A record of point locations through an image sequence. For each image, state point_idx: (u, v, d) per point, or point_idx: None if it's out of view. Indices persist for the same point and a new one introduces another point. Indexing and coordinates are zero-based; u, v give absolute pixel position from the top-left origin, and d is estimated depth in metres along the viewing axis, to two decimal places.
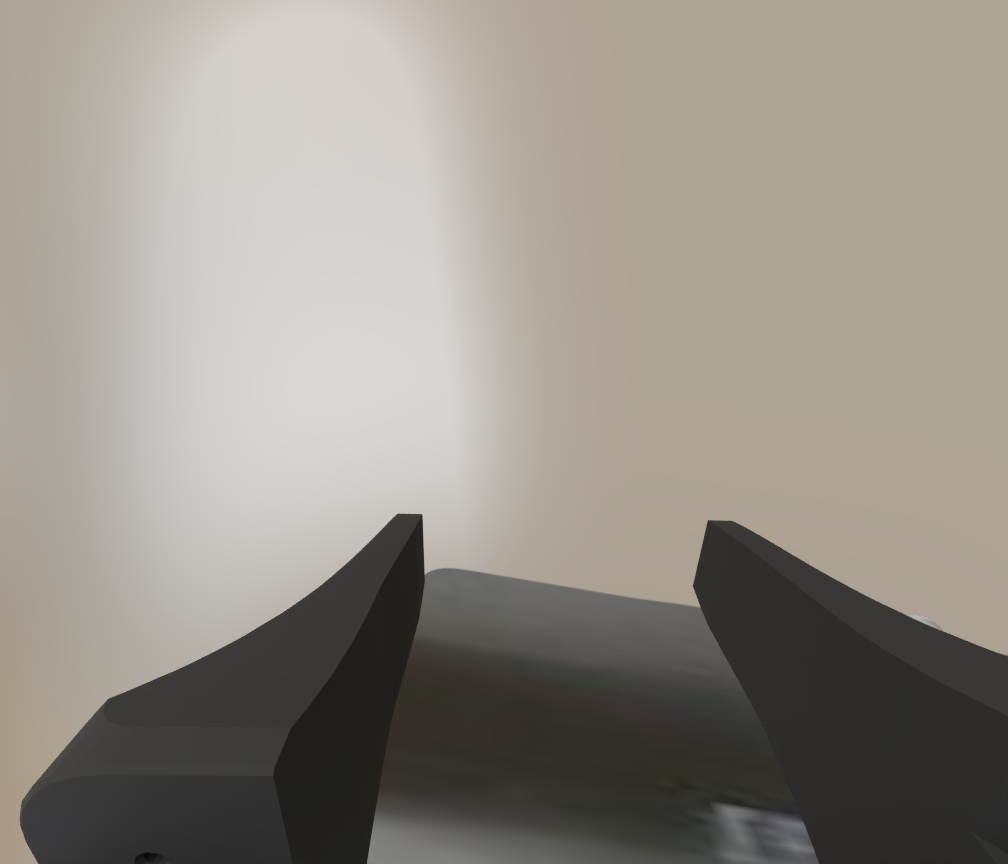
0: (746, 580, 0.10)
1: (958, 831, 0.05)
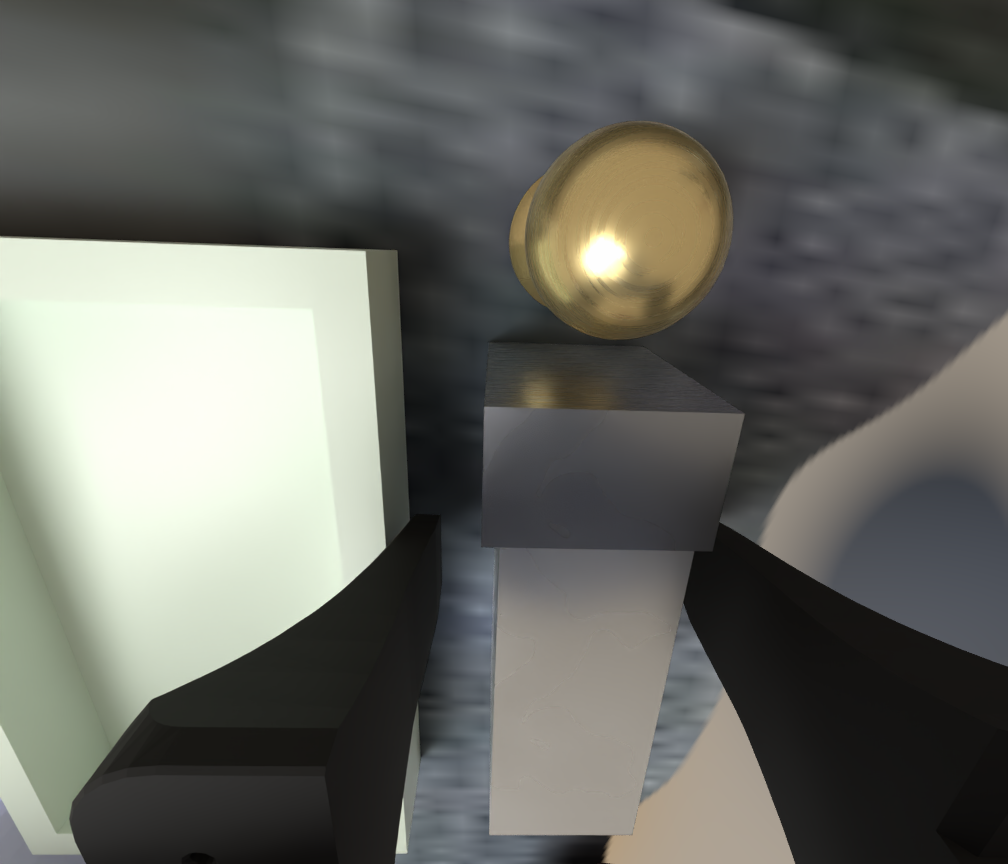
0: (728, 580, 0.10)
1: (925, 831, 0.05)
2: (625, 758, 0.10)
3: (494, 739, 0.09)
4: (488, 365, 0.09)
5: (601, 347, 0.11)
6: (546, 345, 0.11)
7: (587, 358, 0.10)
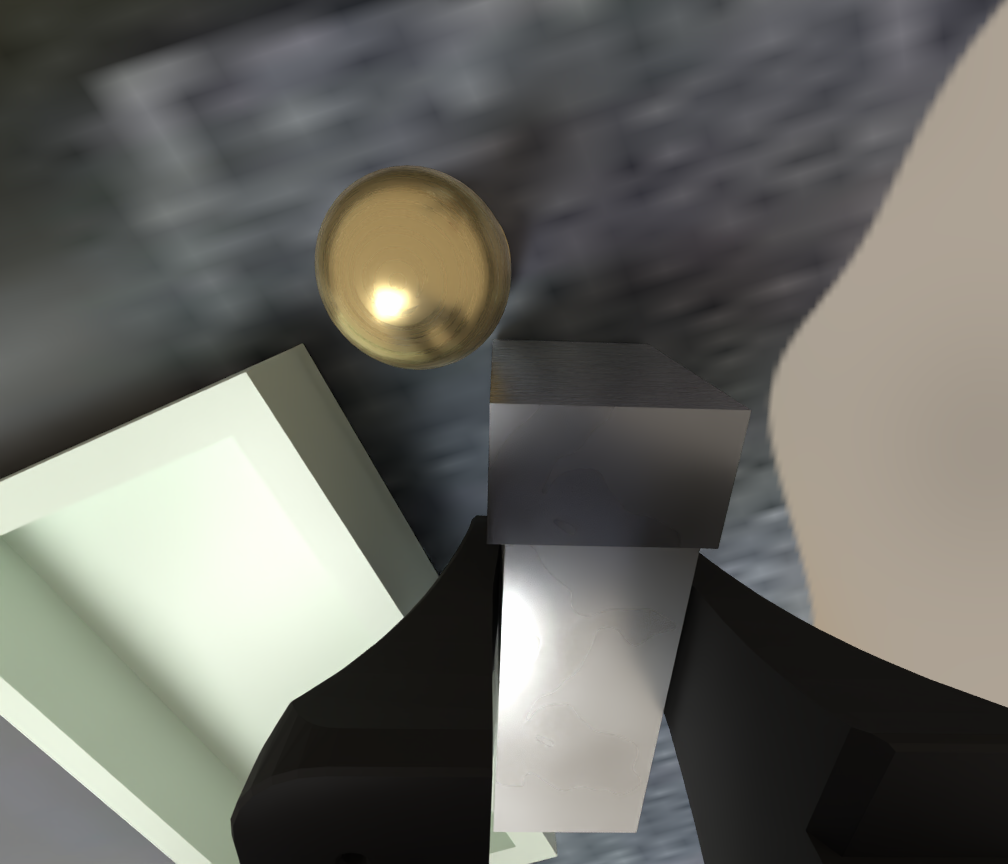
0: None
1: (798, 831, 0.05)
2: (630, 755, 0.10)
3: (499, 736, 0.09)
4: (493, 362, 0.09)
5: (605, 345, 0.11)
6: (550, 343, 0.11)
7: (592, 355, 0.10)
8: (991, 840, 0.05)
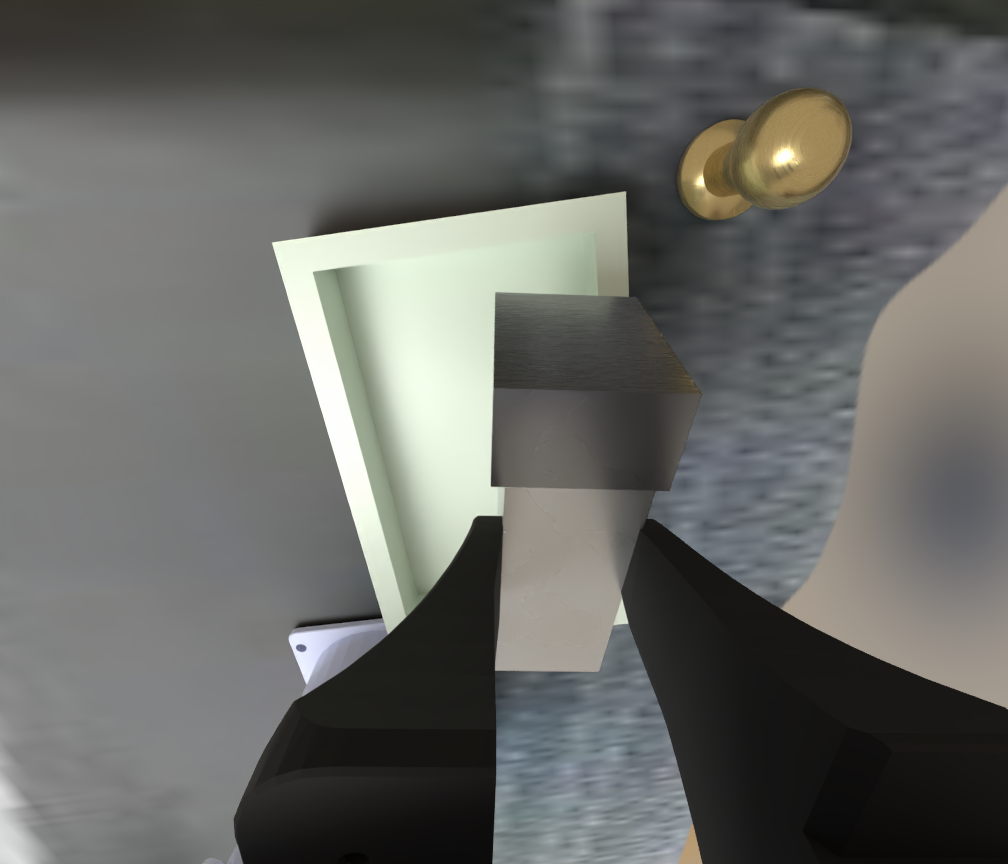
0: (655, 579, 0.10)
1: (795, 830, 0.05)
2: (595, 625, 0.13)
3: None
4: (495, 330, 0.10)
5: (597, 299, 0.12)
6: (547, 297, 0.12)
7: (583, 317, 0.11)
8: (988, 840, 0.05)
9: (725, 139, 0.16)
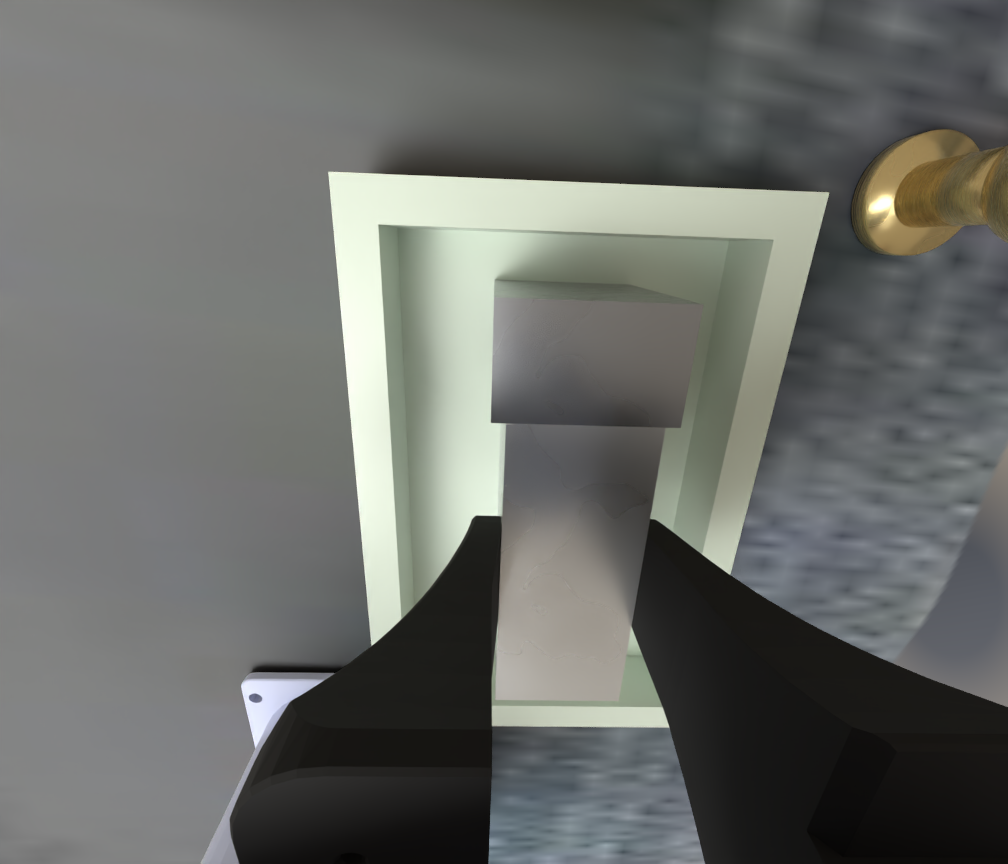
0: (657, 579, 0.10)
1: (799, 830, 0.05)
2: (611, 624, 0.11)
3: (500, 604, 0.11)
4: (495, 286, 0.11)
5: (592, 284, 0.13)
6: (544, 282, 0.13)
7: (579, 286, 0.12)
8: (992, 840, 0.05)
9: (935, 154, 0.12)
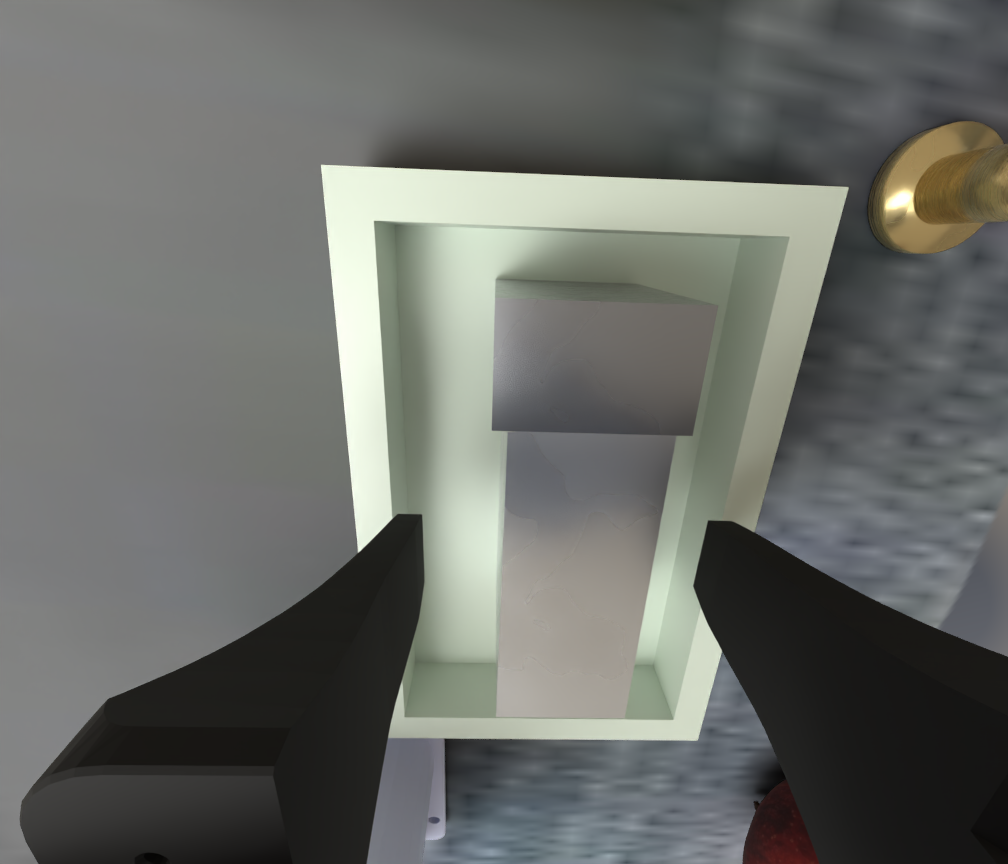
0: (746, 580, 0.10)
1: (958, 831, 0.05)
2: (618, 639, 0.11)
3: (501, 619, 0.10)
4: (496, 286, 0.10)
5: (597, 283, 0.12)
6: (547, 281, 0.12)
7: (584, 286, 0.11)
8: None
9: (957, 147, 0.12)
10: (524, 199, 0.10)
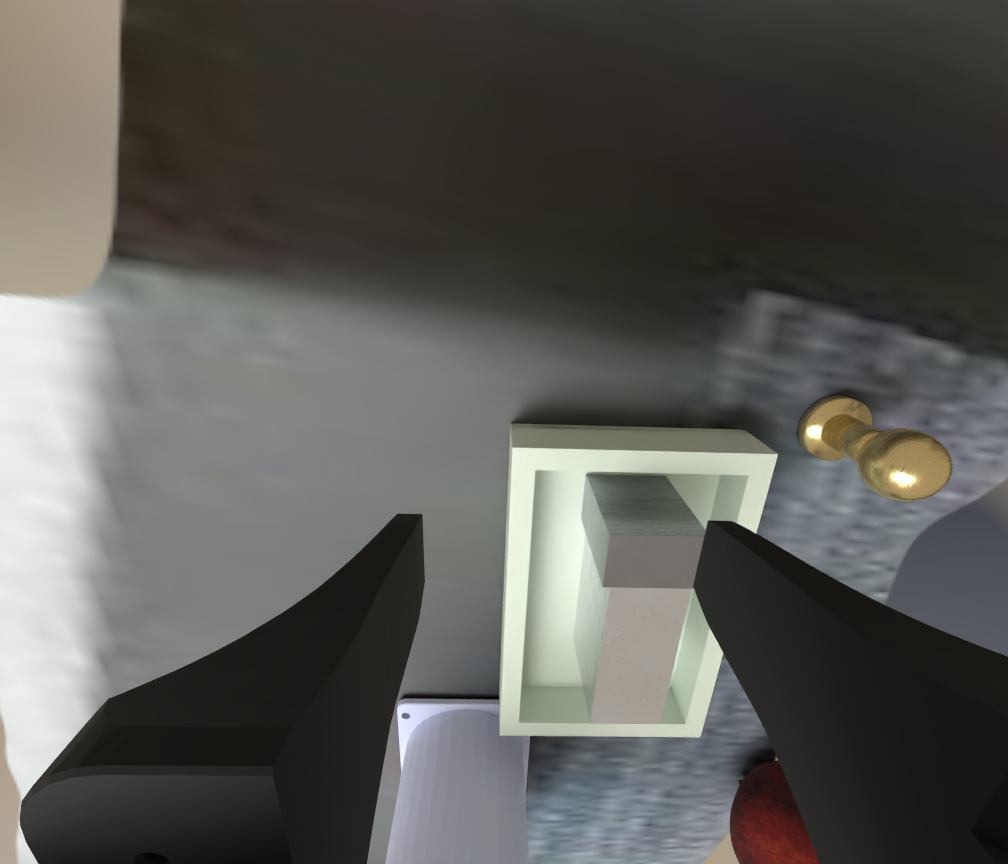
0: (746, 580, 0.10)
1: (958, 831, 0.05)
2: (658, 683, 0.20)
3: (598, 673, 0.20)
4: (596, 500, 0.20)
5: (644, 478, 0.22)
6: (616, 476, 0.22)
7: (640, 491, 0.21)
8: None
9: (843, 411, 0.21)
10: (612, 460, 0.19)
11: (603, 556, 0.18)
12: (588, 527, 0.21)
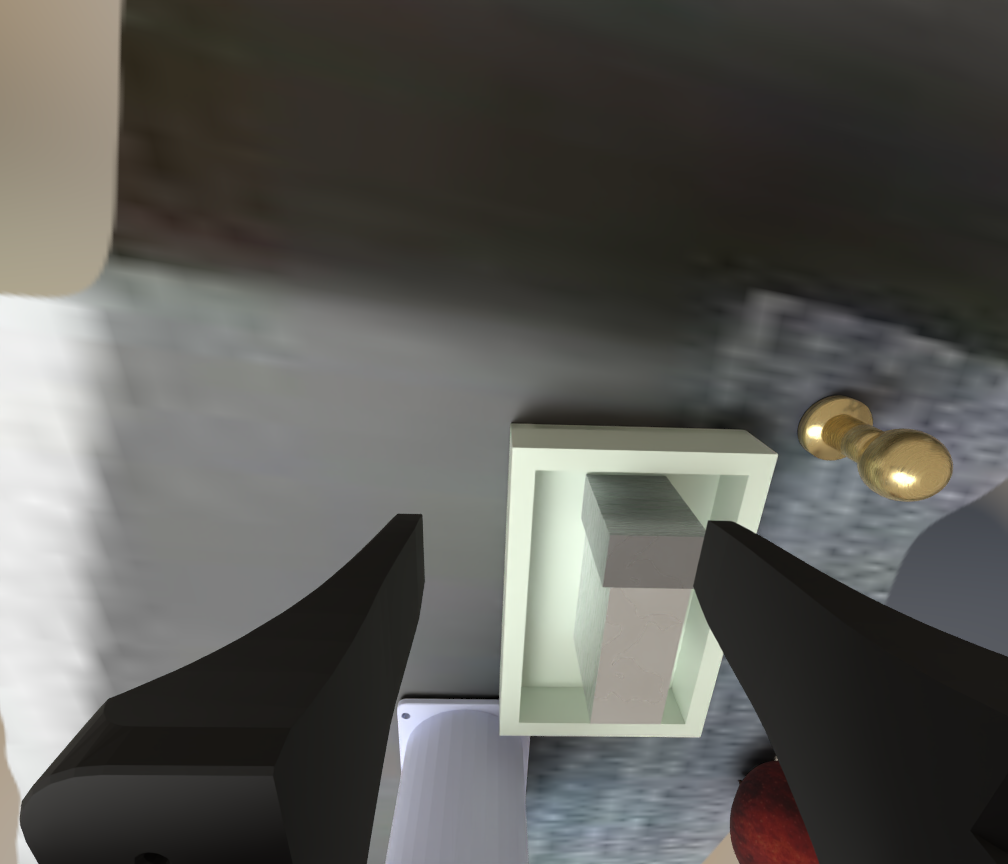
0: (746, 580, 0.10)
1: (958, 831, 0.05)
2: (659, 683, 0.20)
3: (598, 673, 0.20)
4: (596, 500, 0.20)
5: (644, 478, 0.22)
6: (616, 477, 0.22)
7: (640, 491, 0.21)
8: None
9: (843, 411, 0.21)
10: (613, 460, 0.19)
11: (603, 556, 0.18)
12: (588, 527, 0.21)
